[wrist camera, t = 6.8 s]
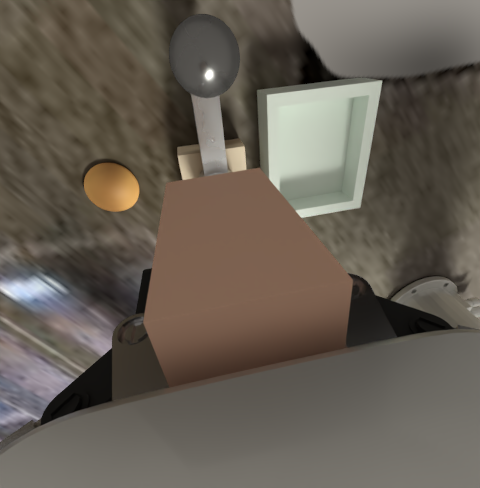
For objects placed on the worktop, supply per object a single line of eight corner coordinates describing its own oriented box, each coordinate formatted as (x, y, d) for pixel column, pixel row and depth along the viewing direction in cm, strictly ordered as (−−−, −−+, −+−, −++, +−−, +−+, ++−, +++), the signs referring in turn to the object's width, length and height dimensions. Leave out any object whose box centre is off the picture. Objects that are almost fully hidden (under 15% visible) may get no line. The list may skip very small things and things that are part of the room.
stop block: (259, 167, 12) (353, 279, 6) (267, 277, 15) (334, 436, 9) (166, 182, 12) (142, 322, 5) (194, 292, 15) (202, 469, 8)
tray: (360, 77, 27) (382, 80, 24) (344, 194, 34) (360, 207, 31) (256, 90, 26) (266, 94, 23) (262, 208, 33) (270, 223, 30)
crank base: (238, 138, 28) (244, 146, 26) (243, 194, 31) (249, 206, 29) (73, 161, 26) (64, 171, 24) (97, 218, 30) (91, 231, 27)
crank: (238, 197, 28) (252, 228, 23) (198, 204, 28) (203, 237, 23) (221, 20, 20) (236, 10, 15) (164, 25, 20) (161, 17, 15)
